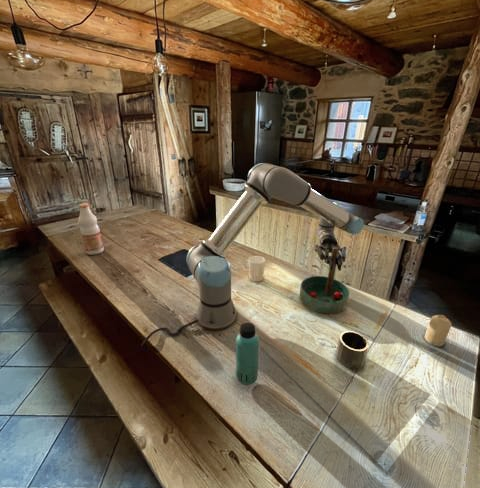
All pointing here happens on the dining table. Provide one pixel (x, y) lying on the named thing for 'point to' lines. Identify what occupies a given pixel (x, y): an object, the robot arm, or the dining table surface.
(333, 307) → the bowl
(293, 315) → the dining table surface
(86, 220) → the fruit juice
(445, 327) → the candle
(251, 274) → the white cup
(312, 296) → the tomato
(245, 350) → the beverage bottle
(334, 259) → the stirring stick
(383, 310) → the dining table surface
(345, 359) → the crock
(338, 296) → the tomato
